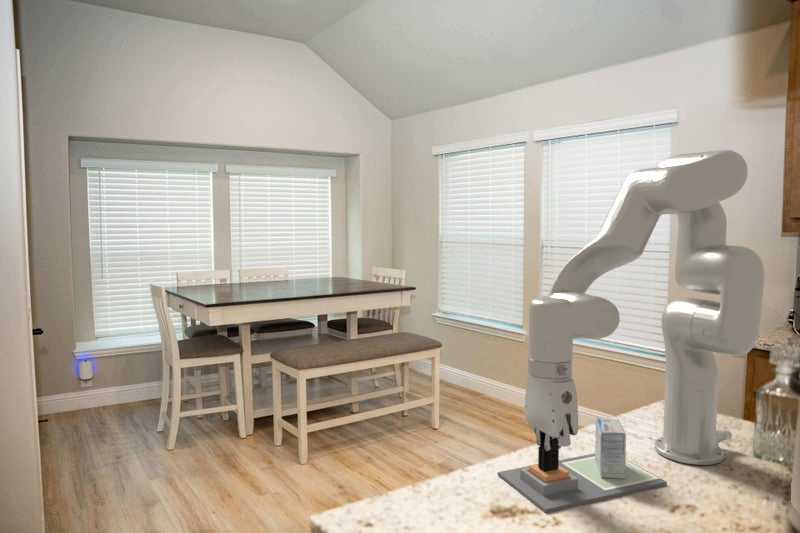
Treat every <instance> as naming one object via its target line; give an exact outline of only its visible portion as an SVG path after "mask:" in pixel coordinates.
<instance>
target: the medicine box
mask: <svg viewBox="0 0 800 533" xmlns="http://www.w3.org/2000/svg"><path fill="white" fill-rule="evenodd" d="M626 436H627V435H626V432H625V429H624V428H623V425H622V423H621V421H620V419H617V418H608V417H607V418H603V417H601V418H600V417H599V418H598V417H597V418H595V445H594V446H595V452H594V453H595V459H596V463H597V466H598V469H599V472H600V476H601V477H603V478H615V479H625V473H626V471H625V468H626V460H627V458H626V455H627V454H626V451H627V450H626V449H627V444H626V442H627V437H626Z"/></svg>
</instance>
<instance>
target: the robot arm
mask: <svg viewBox="0 0 800 533" xmlns="http://www.w3.org/2000/svg"><path fill="white" fill-rule="evenodd" d="M748 175H749V170H748V164H747V161H746V160H745V158H744V157H743V155H742V154H740V153H738V152H736V151H734V150H730V149H721V150H720V149H719V150H712V151H711V150H710V151H701V152H688V153H683V154H681V153H680V154H676V155H670V156H668V157H665V158H664V159H662V160H661V161H660V162H659V163H658V164H657V165H656V167H648V168H642V169H637V170H635V171H633V172H631V173H630V174H628V175H627V176H626V177H625V179H624V180H623V182H622V184H621V186H620V188H619V190H618V192H617V194H616V196H615V198H614V200H613V202H612V205H611V206H610V208H609V211H608V213H607V215H606V216H605V219H604V221H603V222H602V225H601V226H600V229H599V231H598V233H597V235H595V237H594V239H593V240H591V241H590V242H588V244H585V245H584V247H582V248H581V250H579V251H578V252H577V253H576V254H575V255H574V256H572V258H570V259H569V260H568V261H567V262H566V263H565V265H564V266H563V267H562V268H561V270H560V271H559V273H558V275H557V277H556V278H555V280H554V282H553V284H552V287H551V288H550V290H549V292H548V294H547V296H546V297H544V296H543V297H536V298H534V299H532V300H531V302H529V307H528V308H529V309H528V359H527V360H528V364H527V367H528V368H527V369H528V370H527V371H528V372H527V377H526V384H525V385H526V386H525V395H524V397H525V398H524V416H525V417H524V418H525V420H526V422H527V423H528V425H529V428H531V430H532V431H533V432H534V433H535V438H536V439H535V440H536V446H538V452H537V453H538V455H537V456H538V458H537V460H538V462H537V464H538V467H539V468H540V469H542V470H543V471H544V472H546V471H551V470H556V469H558V467H559V460H560V456H559V455H560V451H559V450H561V449H562V448H563V447H569V446H571V444H572V443H571V436H577V435H578V433H579V407H578V394H577V387H576V382H575V380H574V379H573V351H574V347H573V346H574V340H575V339H584V340H585V339H586V340H600V339H604V338H607V337H610V336H611V335H612V334H614V332H615V331H616V330H617V329H618V327H619V324H620V322H621V321H620V320H621V319H620V316H621V315H620V313H619V312H620V311H619V310H618V308H617V306H616V305H615V304H614V303H613V301H610V300H608V298H607V299H606V298H604V297H602V296H601V297H600V296H596V295H591V294H586V292H587V290H588V289H589V288H590V286H591V285H592V284H593V283H594V282H595V281H596V280H597V279H599V278H600V277H601V276H604V275H605V274H606V273H608V272H611V271H613V270H615V269H618V268H620V267H623V266H625V265H627V264H630V263H633V262H635V261H636V260H638V259H639V258H640V257H641V256H642V255H643V253H644V251H645V249H646V247H647V245H648V242H649V240H650V238H651V236H652V234H653V231H654V229H655V228H656V225H657V223H658V221H659V219H660V217H661V216H662V215H676V217H677V222H678V227H677V228H678V229H677V230H678V231H677V240H676V242H677V244H676V250H675V262H674V278H675V281H676V283H677V285H678V286H680V287H681V289H684V290H688V291H691V292H695V293H696V292H698V293H702V294H703V293H704V294H710V295H716V296H719V297H720V299H719V300H720V301H715V300H708V299H703V298H694V297H681V298H676V299H673V300H672V301H670V302H668V304H667V305H666V306H665V307H664V309H663V311H662V315H661V322H660V323H661V330H662V331H661V332H662V336H663V341H664V342H663V343H664V350H665V351H664V352H665V374H664V376H665V377H664V378H665V380H664V401H663V402H664V404H663V405H664V406H663V430H662V431H663V435H662V437H659V438H657V439H656V440H655V441H654V449H655V451H656V452H657V453H658V454H659V455H660V456H663V457H665V458H667V459H670V460H672V461H675V462H678V463H682V464H689V465H695V466H710V465H716V464H719V463H721V462H723V460H724V459H725V458H724V456H725V452H724V450H723V449H722V448H721V447H720V446H719V444H720V443H721V442H722V441H727V440H730V439H732V433H731V431H730V430H728V429H723V430H719V431H718V430H717V415H718V414H717V413H718V389H719V367H718V363H717V360H716V357H715V355H714V353H716V354H717V353H718V354H722V355H727V356H732V357H739V356H740V357H741V356H744V355H747V354H748V353H749V352H750V351H752V350H753V348H754V347H755V344H756V343H757V340H758V337H759V333H760V327H761V317H762V307H763V298H764V289H765V276H766V275H765V267H764V263H763V261H762V258H761V257H760V255H759V254H758V253H757V252H756V251H754V250H753V249H751V248H749V247H745V246H741V245H727V220H728V219H727V216H726V212H725V210H724V208H723V206H722V204H721V203H720V202H722V201H725V200H727V199H729V198H732V197H733V196H735V195H736V194H738V193H739V192H740V191H741V190H742V189H743V187H745V184H746V181H747V179H748Z"/></svg>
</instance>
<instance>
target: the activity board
mask: <svg viewBox="0 0 800 533" xmlns="http://www.w3.org/2000/svg"><path fill="white" fill-rule="evenodd" d="M559 466H561V467H562V468H564V469H565V470H567V471H568V472H569V478H568V479H563V480H558V481H553V482H548V483H544V482H542V481H541V480H540V479H538V478H537V477H535V476H534V475H533V474H531V473H530V472H529V465H528V466H522V467H518V468H513V469H507V470H503V471H501V470H500V471H497V476H498V477H499V478H501V479H502V480H503V481H504V482H505V483H506V484H508V485H509V486H510V487H511V488H513V489H514V490H516V491H517V492H518V493H520V495H522V496H523V497H524V498H526V499H527V500H528V501H529V502H531V503H532V504H533V505H534V506H535V507H538V509H540V511H542V512H544V513H545V514H546V513H551V512H555V511H560V510H565V509H568V508H572V507H577V506H581V505H586V504H591V503H594V502H599V501H603V500H607V499H613V498H616V497H620V496H624V495H625V496H626V495H628V494H634V493H637V492H638V493H639V492H642V491H647V490H651V489H655V488H659V487H663V486H667V485H668V482H667V480H664V479H663V478H661V477H660V476H657V475H655V474H653V473H651V472H649V471H648V470H646V469H644V468H643V467H640V466H639V465H637V464H635V463H632V462H631V461H629V460H628V459H626V468H625V471H626V473H625V479H615V478H603V477H601V476H600V472H599V469H598V466H597V463H596V459H595V452H594V453H589V454H584V455H579V456H574V457H568V458H563V459H559Z"/></svg>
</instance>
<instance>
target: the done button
mask: <svg viewBox="0 0 800 533" xmlns="http://www.w3.org/2000/svg"><path fill="white" fill-rule="evenodd" d="M528 466H529V472H530V473H531V474H533V475H534V476H535V477H537V478H538V479H540V480H541V481H542V482H544V483H548V482H553V481H558V480H563V479H568V478H569V472H568V471H567V470H565V469H564V468H562V467H561V466H559V467H558V469H556V470H551V471H546V472H544V471H543V470H542V469H540V468H539V467H538V463H533V464H529V465H528Z"/></svg>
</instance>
